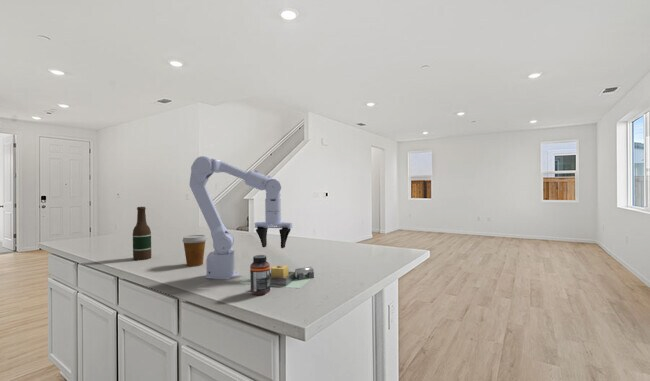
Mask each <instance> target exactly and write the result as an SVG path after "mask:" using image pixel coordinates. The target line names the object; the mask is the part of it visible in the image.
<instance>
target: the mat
mask: <svg viewBox="0 0 650 381" xmlns="http://www.w3.org/2000/svg"><path fill="white" fill-rule="evenodd" d="M270 273H271V271H270ZM315 276H316V274H314V277H315ZM310 280H312V278H310V279H309V278H307V277H306V276H304V279H303V280H298V279H295V280H294V281H292V282H291V283H290V284H289V285H287V286H279V285H270V287H278V288H279V287H280V288H291V289H292V288H293V289H300V288H302V287H303V286H305V285H306V284H307V283H308V282H309V281H310ZM238 284H243V285H251V277H250V276H249V277H247V278H245V279H243V280H241V281H239V282H238Z"/></svg>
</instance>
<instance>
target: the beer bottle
mask: <svg viewBox="0 0 650 381" xmlns="http://www.w3.org/2000/svg"><path fill="white" fill-rule="evenodd" d="M136 210H137V217H136V224H135V226H134V228H133V230H132V258H133V260H134V261H144V260H145V261H146V260H150V259H151V258H152V232H151V228H150V226H149V225H148V223H147V218H146V217H147V216H146V210H147V208H146V206H137V207H136Z"/></svg>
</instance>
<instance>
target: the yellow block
mask: <svg viewBox="0 0 650 381" xmlns="http://www.w3.org/2000/svg"><path fill="white" fill-rule="evenodd" d="M289 269H290V268H289V265H285V264H284V265H282V264H279V265H278V264H276V265H274V266H273V267H270V272H271V277H284V278H285V277H287V276H288V275H289V272H290V271H289Z"/></svg>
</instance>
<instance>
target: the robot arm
mask: <svg viewBox="0 0 650 381" xmlns="http://www.w3.org/2000/svg"><path fill="white" fill-rule="evenodd" d="M190 171H191V172H190V177H189V187H190V190H191V192H192V194H193V197H194V198H195V200H196V202H197V205H198V208H200V212H201V213H202V215H203V217H204V220H205V222H206V224H207V226H208V228H209V230H210V236H211V238H212V245H213V249H214V251H211V252H208V254H207V256H206V262H205V263H206V264H205V265H206V267H205V268H206V276H205V277H204V278H205V279H211V280H212V279H213V280H216V279H218V280H230V279H233V278H234V277H236V276H238V275H239V274H240V272H235V268H236V267H235V249H234V248H233V247H232V246H233V245H234V243H235V238H234V235H233V234H231V233H230V232H229V231H228V229H227V228H226V225H224V223H223V221H222V218H221V216H220V214H219V212H218V210H217V208H216V206H215V204H214V201H213V199H212V197H211V195H210V193H209V190H208V189H207V187H206V185H207V182H208V181H209V179H210V177H211V176H212V175H213V174H214V173H215V174H216V173H217V174H218V173H225V174H228V175H231V176H233V177H236V178H238V179H242V180H243V181H244V183H245V185H246V186H249V187H252V188H254V189H256V190H259V191H265V200H264V201H265V202H264V206H265V207H264V208H265V209H264V210H265V211H264V212H265V214H264V216H265V217H264V218H265V221H261V222H260V221H258V222H254V228H256V229H255V231H256V233H257V235H258V238H259V239H260V243H261V248H267V245H268V244H267V240H268V239H267V234H268V229H279V235H280V248H281V249H285V248H286V243H287V240H288V238H289V234H290V233H291V230H292V229H293V222H282V212H281V211H282V208H281V207H282V202H281V190H282V186H281V183H280V181H279V180H277V179H275V178H271V177H272V176H271V175H268V176H267V175H266V174H263V173H261V172H260V171H259V170H257V169H255V170H253V169H251V170H249V171H246V170H243V169H241V168H239V167H237V166H234V165H232V164H229V163H227V162H225V161H223V160H219V159H214V158H209V157H207V156H205V155H202V156H198V157H197V158H196V159H194V161H193V163H192V164H191V167H190Z"/></svg>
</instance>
